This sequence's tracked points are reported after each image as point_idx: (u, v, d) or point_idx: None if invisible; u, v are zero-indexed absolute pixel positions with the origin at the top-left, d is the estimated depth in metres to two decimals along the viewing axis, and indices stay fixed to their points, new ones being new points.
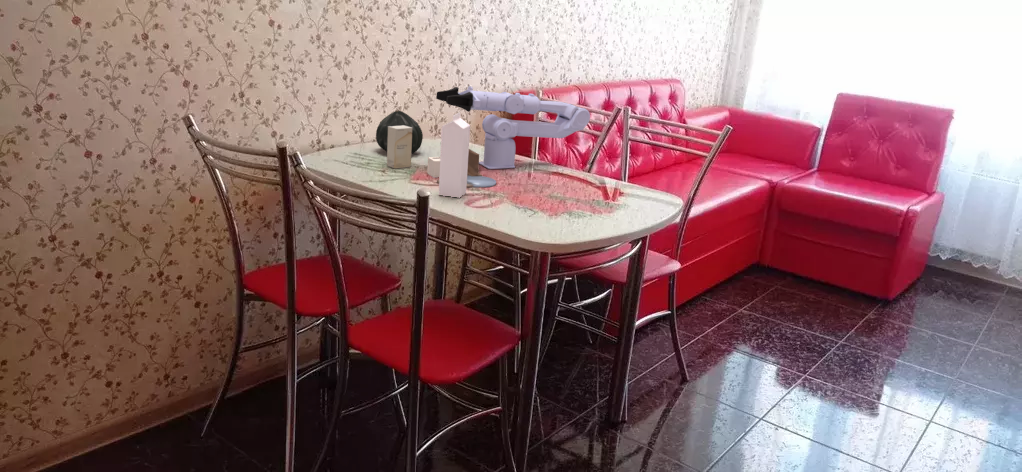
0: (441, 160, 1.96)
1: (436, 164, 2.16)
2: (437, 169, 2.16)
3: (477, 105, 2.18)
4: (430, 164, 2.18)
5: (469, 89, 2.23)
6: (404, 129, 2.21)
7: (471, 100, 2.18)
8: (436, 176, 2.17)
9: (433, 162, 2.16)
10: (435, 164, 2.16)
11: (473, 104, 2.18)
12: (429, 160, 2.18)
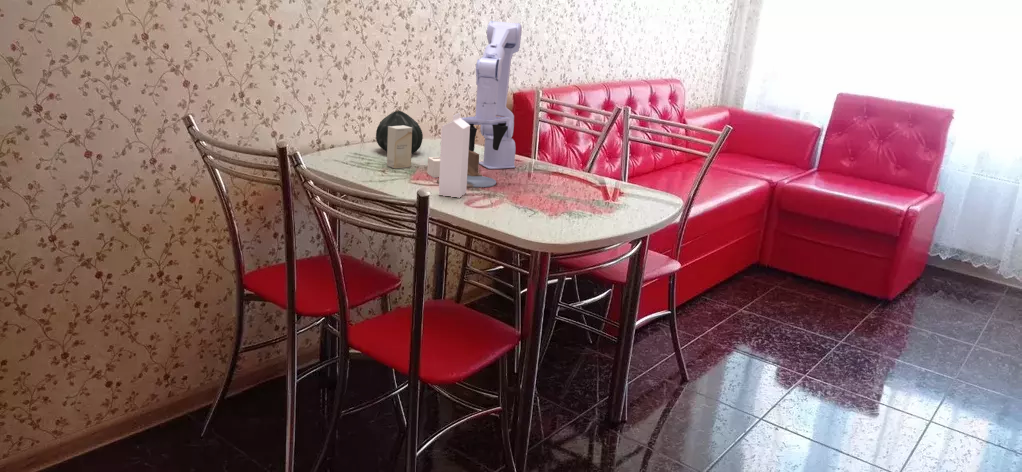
0: (441, 160, 1.96)
1: (436, 164, 2.16)
2: (437, 169, 2.16)
3: None
4: (430, 164, 2.18)
5: (491, 122, 2.06)
6: (404, 129, 2.21)
7: None
8: (436, 176, 2.17)
9: (433, 162, 2.16)
10: (435, 164, 2.16)
11: None
12: (429, 160, 2.18)
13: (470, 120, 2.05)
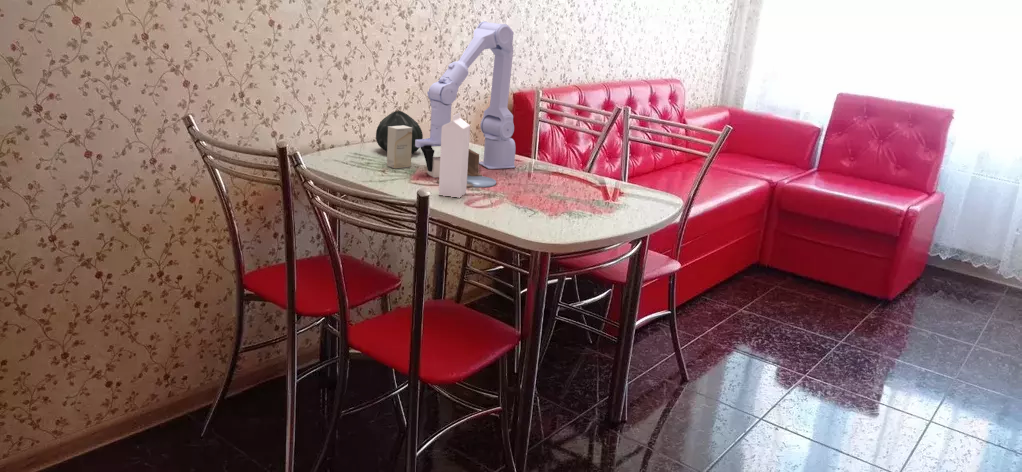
0: (441, 160, 1.96)
1: (436, 164, 2.16)
2: (437, 168, 2.16)
3: None
4: None
5: None
6: (404, 129, 2.21)
7: None
8: (436, 176, 2.17)
9: (433, 161, 2.16)
10: (435, 164, 2.15)
11: None
12: None
13: (424, 142, 2.13)
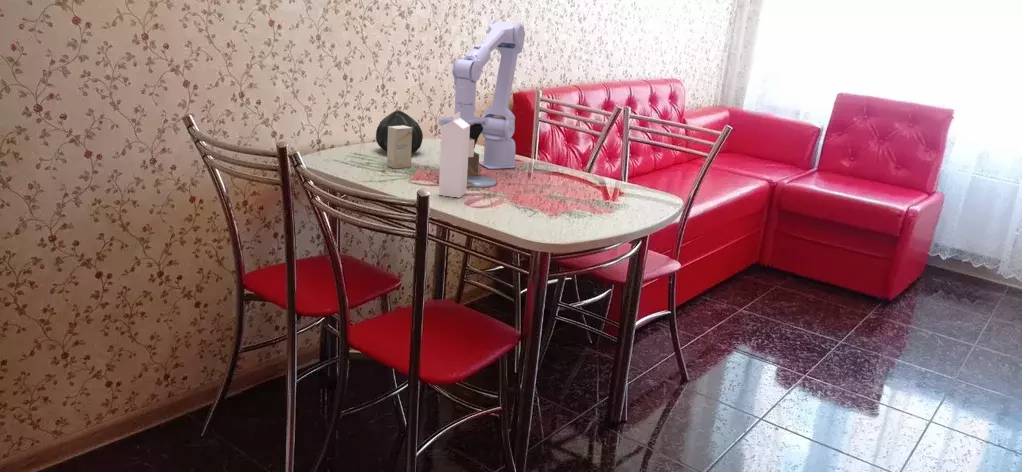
0: (441, 160, 1.96)
1: None
2: None
3: None
4: None
5: (469, 123, 2.09)
6: (404, 129, 2.21)
7: None
8: None
9: None
10: None
11: None
12: None
13: (448, 120, 2.08)
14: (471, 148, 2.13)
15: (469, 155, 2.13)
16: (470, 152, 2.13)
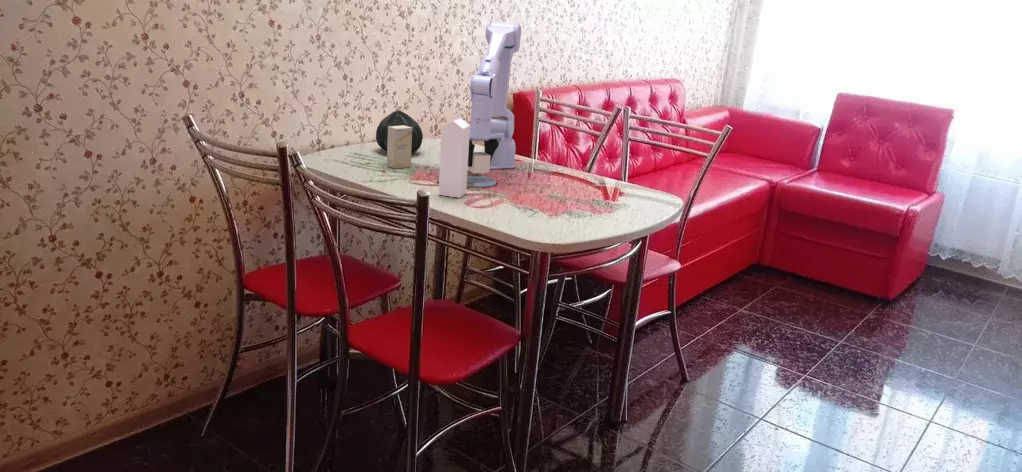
0: (441, 160, 1.96)
1: (477, 159, 2.10)
2: (478, 164, 2.11)
3: None
4: None
5: (485, 138, 2.08)
6: (404, 129, 2.21)
7: None
8: (476, 171, 2.11)
9: (473, 157, 2.10)
10: (475, 159, 2.10)
11: None
12: None
13: None
14: (487, 164, 2.12)
15: (485, 171, 2.12)
16: (486, 168, 2.12)
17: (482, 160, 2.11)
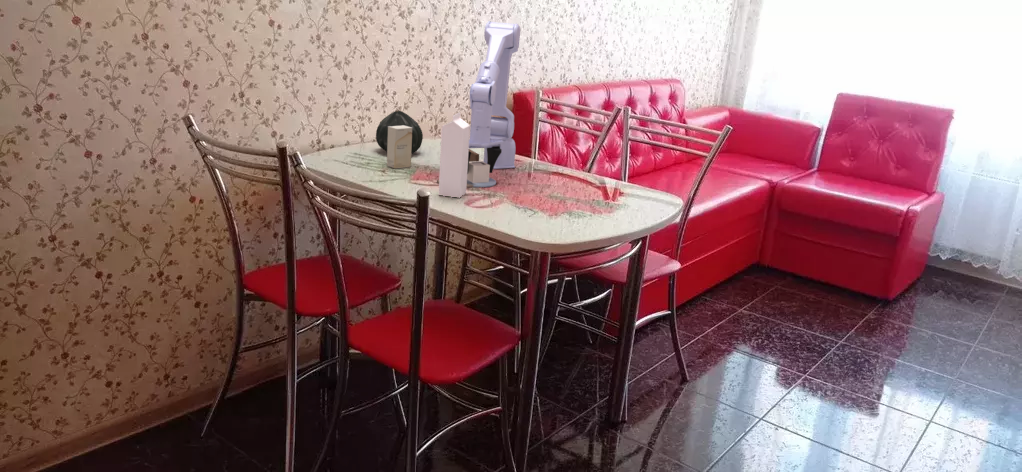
0: (441, 160, 1.96)
1: (476, 169, 2.11)
2: (477, 174, 2.12)
3: None
4: (469, 169, 2.13)
5: None
6: (404, 129, 2.21)
7: None
8: (475, 181, 2.12)
9: (472, 166, 2.11)
10: (475, 169, 2.11)
11: None
12: None
13: None
14: (486, 173, 2.13)
15: (484, 180, 2.13)
16: (485, 177, 2.13)
17: (481, 170, 2.12)
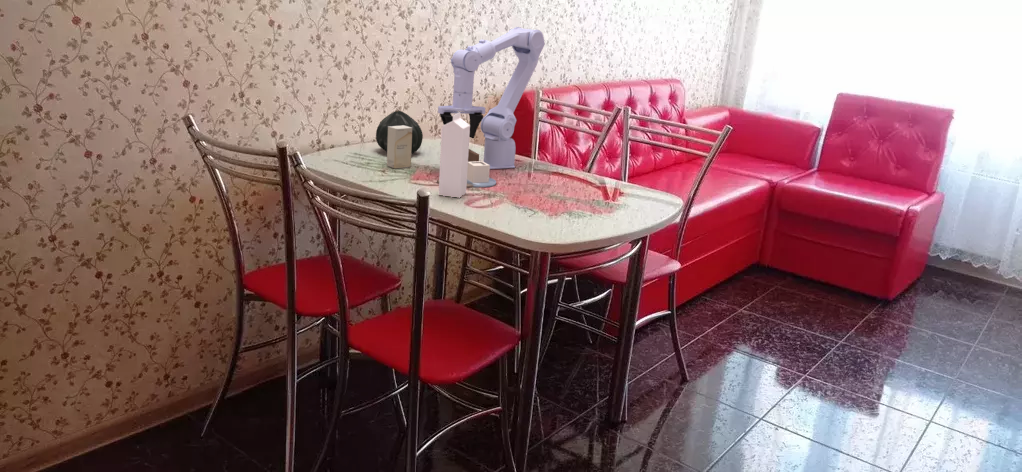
0: (441, 160, 1.96)
1: (476, 169, 2.11)
2: (477, 174, 2.12)
3: None
4: (469, 169, 2.13)
5: None
6: (404, 129, 2.21)
7: None
8: (475, 181, 2.12)
9: (472, 166, 2.11)
10: (475, 169, 2.11)
11: None
12: (468, 165, 2.13)
13: (447, 108, 2.16)
14: (486, 173, 2.13)
15: (484, 180, 2.13)
16: (485, 177, 2.13)
17: (481, 170, 2.12)
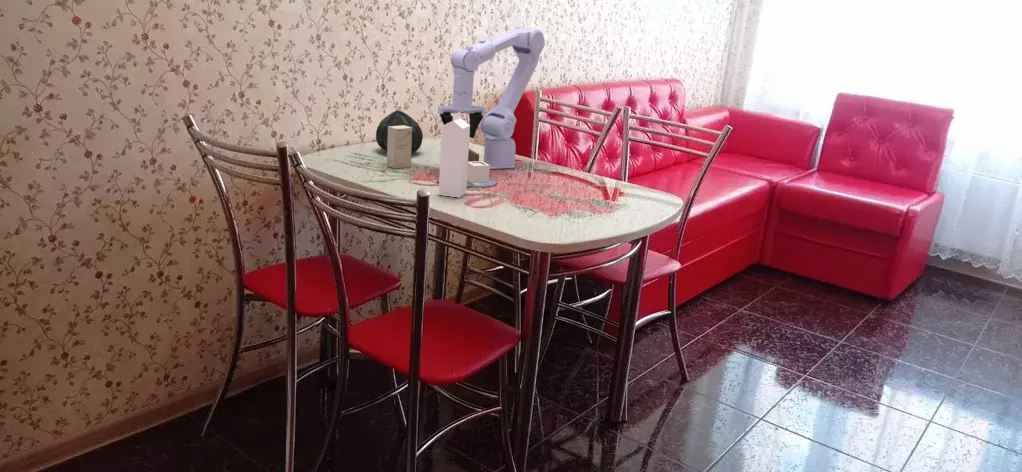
0: (441, 160, 1.96)
1: (476, 169, 2.11)
2: (477, 174, 2.12)
3: None
4: (469, 169, 2.13)
5: (467, 111, 2.17)
6: (404, 129, 2.21)
7: None
8: (475, 181, 2.12)
9: (472, 166, 2.11)
10: (475, 169, 2.11)
11: None
12: (468, 165, 2.13)
13: (447, 108, 2.16)
14: (486, 173, 2.13)
15: (484, 180, 2.13)
16: (485, 177, 2.13)
17: (481, 170, 2.12)
